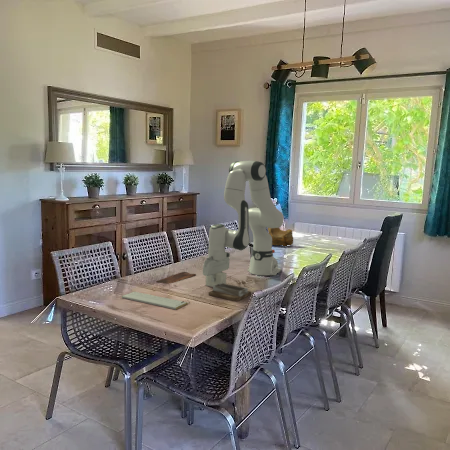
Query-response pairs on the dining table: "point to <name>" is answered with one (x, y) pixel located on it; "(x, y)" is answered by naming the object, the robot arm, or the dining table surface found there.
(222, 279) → the pale green rectangular block
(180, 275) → the wooden tablet
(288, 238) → the rough brown rock
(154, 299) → the baseboard molding
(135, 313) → the dining table surface
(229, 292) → the track base
